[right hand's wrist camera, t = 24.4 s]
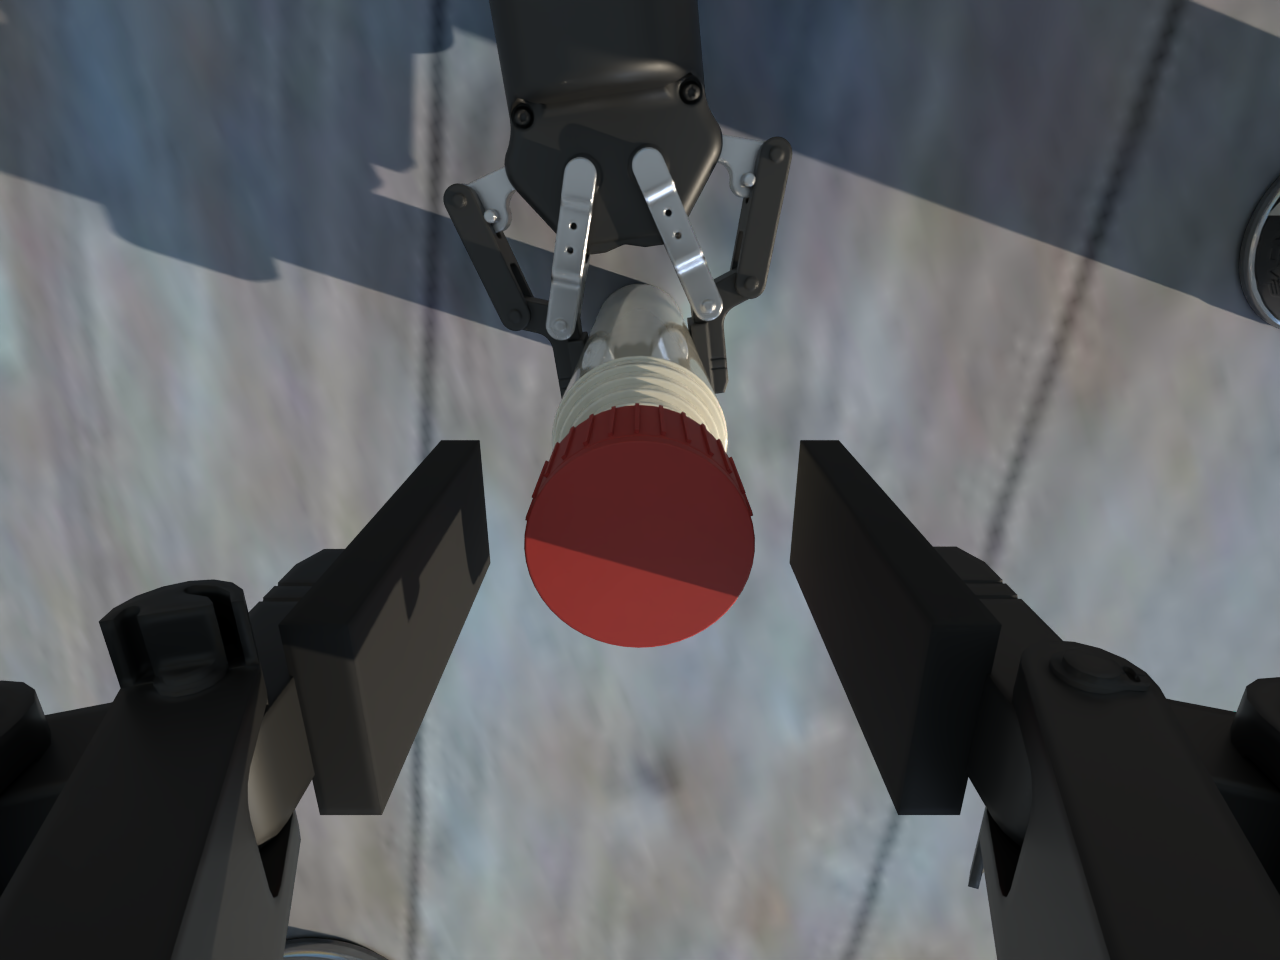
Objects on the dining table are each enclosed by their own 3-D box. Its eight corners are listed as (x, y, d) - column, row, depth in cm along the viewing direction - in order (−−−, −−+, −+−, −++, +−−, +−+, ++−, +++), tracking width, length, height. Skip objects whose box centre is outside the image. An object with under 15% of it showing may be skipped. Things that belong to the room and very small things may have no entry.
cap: (504, 530, 14) (480, 586, 12) (602, 362, 13) (594, 392, 11) (671, 617, 15) (677, 685, 13) (779, 466, 14) (805, 513, 12)
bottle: (596, 371, 36) (523, 634, 13) (595, 283, 35) (510, 412, 12) (682, 372, 36) (753, 636, 13) (684, 283, 35) (770, 414, 12)
